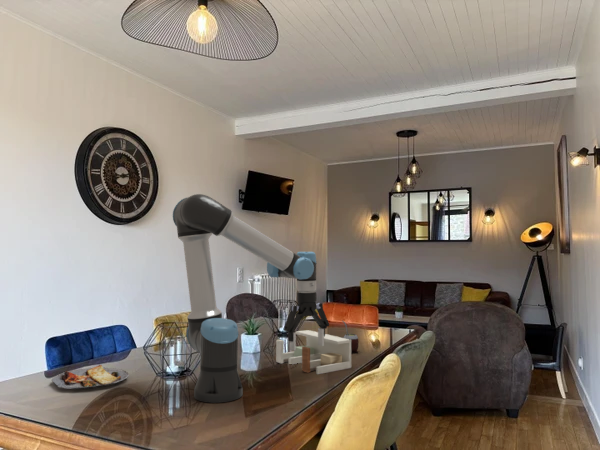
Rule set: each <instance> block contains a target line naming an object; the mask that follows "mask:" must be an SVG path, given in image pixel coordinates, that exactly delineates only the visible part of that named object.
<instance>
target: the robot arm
mask: <svg viewBox="0 0 600 450" xmlns="http://www.w3.org/2000/svg"><path fill="white" fill-rule="evenodd" d="M172 221H173V223H174V225H175V226H176V231H177V238H178V239H179V240H180V241H182V243H183V252H184V262H185V267H186V268H185V269H186V278H187V284H188V285H187V286H188V287H187V288H188V294H189V295H188V296H189V302H190V303H189V304H190V313H189V314H188V315H187V324H188V325H187V328H186V339H187V342H188V344H189V346H190V347H191V348H192V349H193V350H194V351H196V352H198V353H200V359H199V360H200V366H199V367H200V369H199V370H200V371H199V374H198V377H197V379H196V384H195V385H194V390H193V392H194V393H193V398H194V399H195V400H197V401H199V402H204V403H210V404H211V403H212V404H213V403H227V402H232V401H235V400H238V399H240V398H241V397H243V393H244V392H243V391H244V388H243V385H242V382H241V378H240V374H239V370H238V359H239V358H238V352H239V349H238V348H239V347H238V346H239V327H238V324H237V322H236V321H235V320H232V319H230V318H229V319H226V318H224V317H223V315H222V313H223V312H222V310H220V309H219V308H218V307H217V300H216V292H215V291H216V290H215V284H214V276H213V267H212V259H211V250H210V241H209V240H210V238H211V236H212V235H214V236H216V237H218V236H222V237H224V238H225V239H228V240H229V241H230V242H232V243H234V244H236V245H237V246H239V247H241V248H243V249H244V250H246V251H248V252H249V253H251V254H253V255H255V256H257V257H258V258H259V259H261V260H263V261H265V262H267V263H266V271H267V274H268V276H269V278H277V279H278V278H288V279H296V290H297V293H296V301H297V305H294V304H293V305H291V306H290V310H289V314H288V317H287V319H286V322H285V324H284V327H283V331H284V332H287V334H288V335H287V337H288V341H289V350H291V351H292V352H294V351H296V347H297V345H296V343H297V339H296V337H297V336H296V335H297V334H296V329H297V327H299V324H300V323H301V321H302V320H303V319H304V318H305V317H311V318H312V319H313V320H314V321H315V322H316V324H317V325H318V326H319V327H318V328H317V332H318V345H321V346H324V336H325V334H326V329H327V328H328V327H329V326H330V323H329V320H328V317H327V316H326V315H327V314H326V313H325V310H324V306H323V305H324V304H323V303H321V302H317V301H318V299H317V255H316V253H315V251H297V253H294V252H293V251H291V250H290V249H288V248H287V247H286V246H284V245H282V244H280V243H279V242H277V241H275V240H274V239H272V238H270V237H269V236H268V235H266V234H264V233H263V232H261V231H259V230H258V229H256V228H255V227H254V226H251V225H250V224H248V223H247V222H245V221H243V220H241V219H240V218H238V217H237V216H235V215H234V213H233V210H232V209H230V208H228V207H226V206H225V205H223V204H222V203H221V202H219V201H217V200H215V199H214V198H213V197H210V196H209V195H207V194H201V193H198V194H197V193H196V194H192V195H190V196H187V197H184V198H182V199H181V200H179V201H178V202H177V203H176V204H175V206H174V209H173V210H172Z"/></svg>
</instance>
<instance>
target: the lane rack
mask: <svg viewBox="0 0 600 450" xmlns="http://www.w3.org/2000/svg"><path fill="white" fill-rule="evenodd" d="M295 333H296V335H299V336H301V337H302V336H303V337H305V341H306V346H310V347H313V348H314V354H311V355H310V368H311V367H316V370H315V374H316V375H320V374H321V375H322V374H325V373H326V374H327V373H332V372H337V371H343V370H347V369H352V354H351V340H350V339H346V338H344V337H340V336H337V335H332V334H328V333H325V336H324V346H321V345H318V331H315V330H311V329H309V330H308V329H306V330H297V331H296V330H295ZM327 353H336V354H339V355H342V362H341V363H335V364H330V365H324V366H321V354H327ZM287 358H289V361H288V365H289V364H292V365H297V363H298V364H302V356H298V357H294V351H289V352H284V354H283V359H287ZM317 366H319V367H317Z"/></svg>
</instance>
